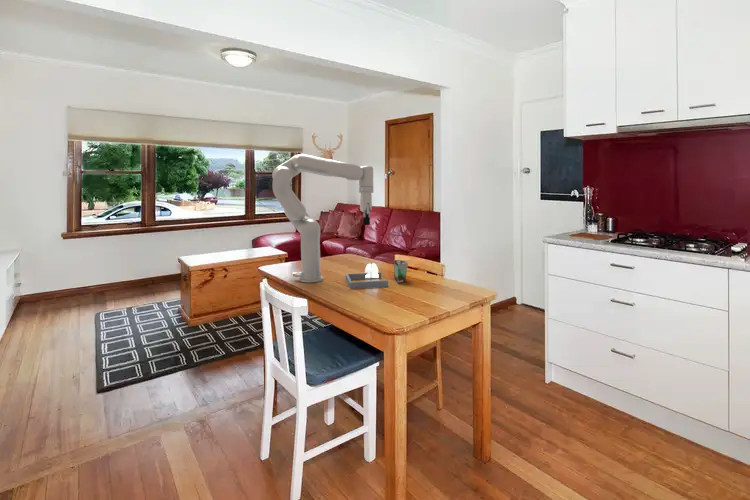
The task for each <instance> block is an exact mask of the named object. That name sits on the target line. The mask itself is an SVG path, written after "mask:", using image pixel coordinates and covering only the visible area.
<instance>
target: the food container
mask: <svg viewBox="0 0 750 500" xmlns="http://www.w3.org/2000/svg"><path fill="white" fill-rule="evenodd" d="M408 268H409V264H408V261H406V260H402V259H393V279H394V281H395V283H396V285H397V284H398V285H400V284H401V285H402V284H405V283H406V281H407V271H408V270H407V269H408Z"/></svg>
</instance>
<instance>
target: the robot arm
mask: <svg viewBox="0 0 750 500" xmlns="http://www.w3.org/2000/svg"><path fill="white" fill-rule="evenodd" d="M302 172H303V173H308V174H313V175H318V176H323V177H334V178H341V179H346V180H348V181H358V193H359V194H360V199H359V200H360V201H359V202H360V203H359V204H360V205H359V211H361V212H362V213H363V214H362V218H363V219H362V222H363V225H364V226H369V225H370V223H371V221H370V219H371V217H370V214H371V213H370V212H372V207H373V203H372V202H373V199H372V198H373V195H372V194H373V193H374V168H373V166H372V165H361V166H360V165H358V164H354V163H349V162H344V161H339V160H338V161H337V160H335V159H331V158H330V159H329V158H325V157H320V156H316V155H312V154H311V155H310V154H306V153H300V154H295V155H293V156H292V157H291V158H290V159H287V160H286V161H284V162H283V163H281V164H280V165H278V166H276V167H275V168H274V169H273V170H272V172H271V173H272V174H271V177H272V183H271V184H272V185H271V186H272V193H273V195H274V197H275V198H276V199H277V201H278V203H279V204H280V205H281V207H282V208H283V211H284V214H285V216H286V218H288V220H289V222H290V223H291V225H293V227H294V228H295V229H296V231H298V233H300V258H301V261H300V262H301V271H299V272H292V277H295V278H298V281H299V282H300V283H301V282H302V283H306V284H307V283H318V282H322V281H324V279H325V278H324V276H323V275H321V273H322V272H321V244H320V243H321V242H320V241H321V226H320V224H319V222H318V221H317V220H316V219H313V218H312V217H311V216H310V215H309V214H308V212H307V210H306V206H305V205H304V204H303V203H302V202H301V200H300V199H299V197H298V196H297V195H296V193H295V192H294V191H293V189H292V187H291V181H292V179H293V178H294V177H296V176H298V175H299V174H301V173H302Z"/></svg>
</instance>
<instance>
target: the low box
mask: <svg viewBox="0 0 750 500" xmlns="http://www.w3.org/2000/svg"><path fill="white" fill-rule="evenodd" d="M366 273H367V272H360V273H359V272H358V273H357V272H355V273H345V276H344V277H345V282H346V283H347V286H348V287H349V289H352V290H353V289H355V290H356V289H370V288H371V289H373V288H388V287H389V280H388V279H387V280H386V279H383V280H367V281H366V279H365V275H366ZM378 274H379V278H378V279H382V271H381V272H380V271H379V272H378ZM353 280H354V281H353ZM355 280H356V281H355ZM357 280H359V281H357ZM360 280H364V281H360Z"/></svg>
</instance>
